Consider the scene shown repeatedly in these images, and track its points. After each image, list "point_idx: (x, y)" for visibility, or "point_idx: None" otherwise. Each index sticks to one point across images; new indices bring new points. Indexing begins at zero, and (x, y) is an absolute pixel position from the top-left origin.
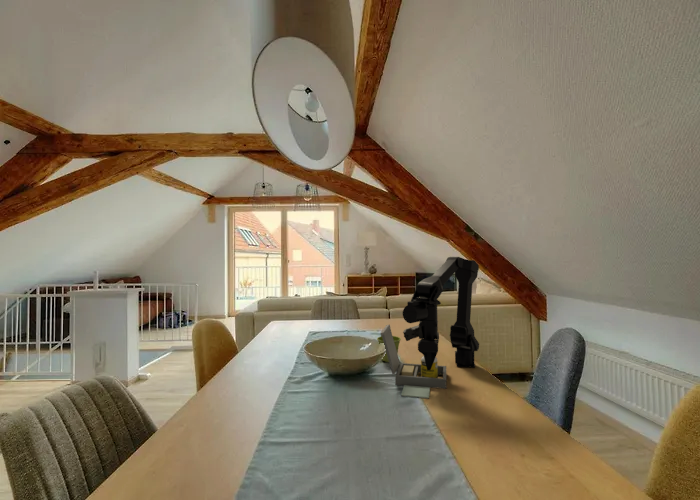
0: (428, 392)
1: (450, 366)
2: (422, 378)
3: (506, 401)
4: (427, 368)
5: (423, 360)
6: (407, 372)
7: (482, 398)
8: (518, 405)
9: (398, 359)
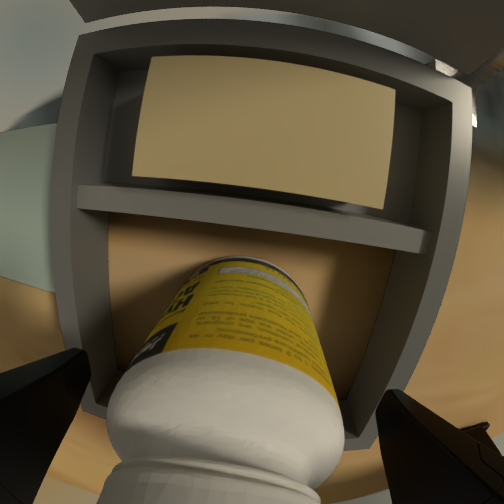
0: (14, 276)
1: (456, 412)
2: (54, 268)
3: (86, 476)
4: (65, 355)
5: (127, 381)
6: (141, 119)
7: (73, 446)
8: (77, 480)
9: (467, 45)
